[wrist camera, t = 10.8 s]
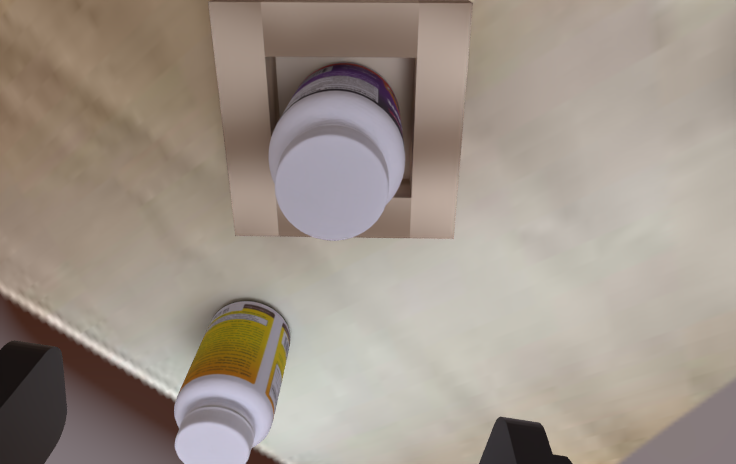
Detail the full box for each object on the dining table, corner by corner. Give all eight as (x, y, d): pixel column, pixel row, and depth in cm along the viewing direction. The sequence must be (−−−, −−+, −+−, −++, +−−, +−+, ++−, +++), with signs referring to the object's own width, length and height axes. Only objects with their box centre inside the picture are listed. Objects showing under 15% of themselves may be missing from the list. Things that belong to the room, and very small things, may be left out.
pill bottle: (393, 171, 30) (398, 265, 21) (290, 160, 29) (252, 251, 21) (407, 64, 27) (419, 122, 18) (294, 53, 27) (253, 105, 18)
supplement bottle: (194, 319, 39) (135, 436, 30) (259, 283, 37) (219, 395, 28) (244, 374, 41) (204, 499, 32) (308, 342, 39) (285, 463, 30)
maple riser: (240, -10, 29) (207, 1, 24) (456, -9, 29) (472, 3, 23) (258, 189, 34) (235, 235, 29) (442, 191, 34) (453, 238, 29)
